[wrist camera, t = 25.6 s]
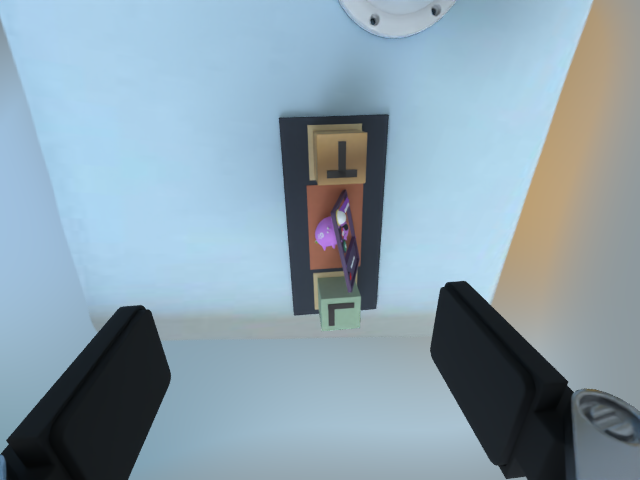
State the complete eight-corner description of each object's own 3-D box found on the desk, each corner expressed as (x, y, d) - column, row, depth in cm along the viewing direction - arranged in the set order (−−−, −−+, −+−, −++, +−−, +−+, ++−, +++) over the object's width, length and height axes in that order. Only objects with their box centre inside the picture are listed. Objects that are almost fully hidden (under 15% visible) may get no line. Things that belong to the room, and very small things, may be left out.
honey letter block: (312, 130, 30) (316, 134, 25) (357, 129, 30) (367, 132, 26) (314, 175, 31) (317, 186, 27) (355, 173, 32) (365, 183, 28)
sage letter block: (317, 277, 37) (321, 299, 32) (353, 275, 37) (361, 296, 33) (318, 307, 38) (321, 332, 34) (352, 304, 39) (360, 328, 35)
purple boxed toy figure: (359, 293, 30) (342, 211, 26) (310, 294, 32) (288, 217, 28) (366, 258, 36) (353, 187, 32) (325, 261, 37) (308, 194, 34)
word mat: (279, 117, 29) (279, 118, 29) (387, 114, 30) (389, 114, 30) (294, 313, 39) (294, 316, 39) (375, 306, 40) (376, 309, 39)
